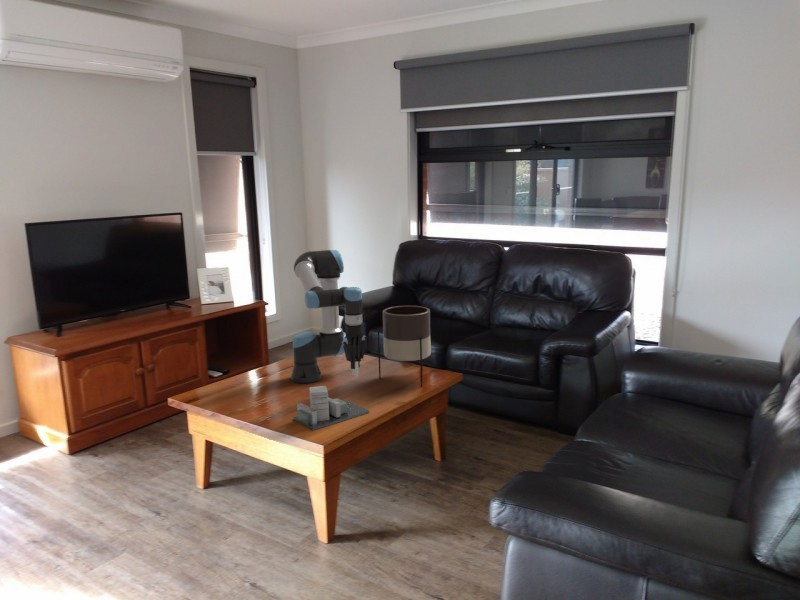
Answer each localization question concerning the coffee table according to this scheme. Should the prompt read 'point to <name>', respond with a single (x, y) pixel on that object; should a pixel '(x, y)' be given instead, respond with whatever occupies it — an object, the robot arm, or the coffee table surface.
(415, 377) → the coffee table surface
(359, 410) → the vise
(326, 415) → the supplement box
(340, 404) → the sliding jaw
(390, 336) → the planter
